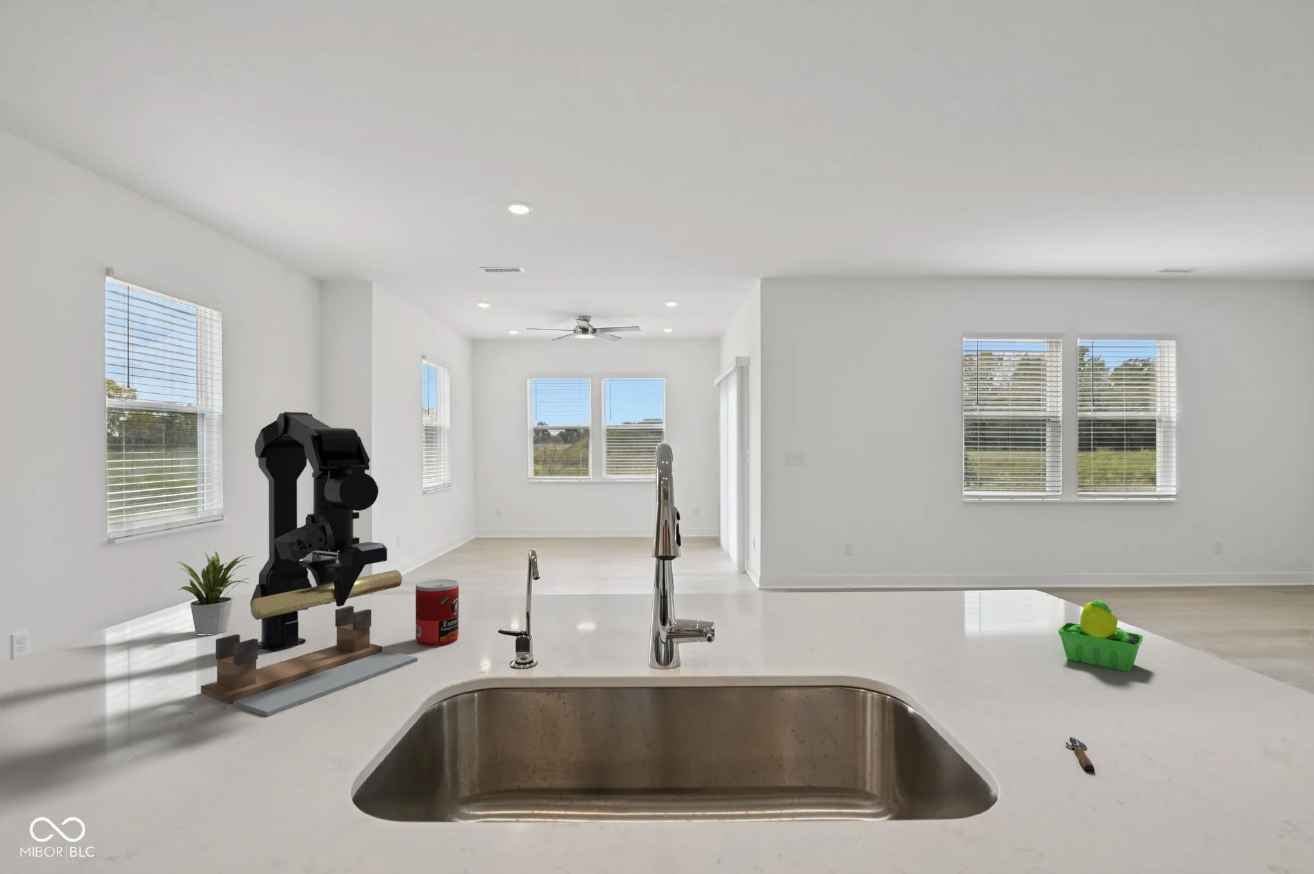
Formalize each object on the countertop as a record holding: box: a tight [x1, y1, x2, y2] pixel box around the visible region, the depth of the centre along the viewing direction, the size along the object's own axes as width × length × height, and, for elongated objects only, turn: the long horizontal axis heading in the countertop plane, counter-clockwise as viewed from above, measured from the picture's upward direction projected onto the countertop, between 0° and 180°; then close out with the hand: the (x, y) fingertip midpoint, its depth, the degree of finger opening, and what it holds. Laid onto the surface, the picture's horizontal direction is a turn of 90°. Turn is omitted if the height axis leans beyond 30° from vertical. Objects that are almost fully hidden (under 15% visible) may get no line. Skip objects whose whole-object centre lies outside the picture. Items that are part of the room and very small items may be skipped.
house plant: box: [177, 550, 257, 636], centre depth 130 cm, size 14×14×16 cm
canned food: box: [415, 578, 460, 647], centre depth 125 cm, size 8×8×11 cm
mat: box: [234, 650, 418, 717], centre depth 104 cm, size 8×26×1 cm, turn 151°
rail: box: [250, 569, 403, 621], centre depth 104 cm, size 24×3×3 cm, turn 151°
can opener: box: [1065, 736, 1096, 774], centre depth 79 cm, size 9×2×1 cm, turn 153°
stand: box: [200, 605, 383, 705], centre depth 108 cm, size 26×8×8 cm, turn 151°
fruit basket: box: [1057, 599, 1144, 673], centre depth 112 cm, size 11×9×11 cm
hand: (333, 604), depth 104 cm, fingers closed on rail, 3 cm apart
